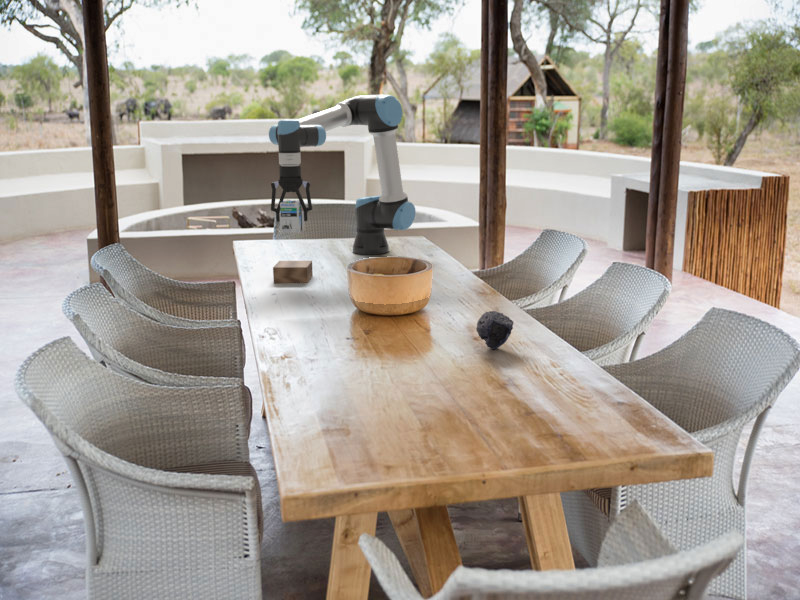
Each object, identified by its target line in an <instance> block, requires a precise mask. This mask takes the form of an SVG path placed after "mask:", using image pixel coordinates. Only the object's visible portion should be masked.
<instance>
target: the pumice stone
mask: <svg viewBox="0 0 800 600" xmlns="http://www.w3.org/2000/svg"><path fill="white" fill-rule="evenodd" d="M513 325H514V321H513V320H512V319H511V318H510V317H509V316H507V315H505V314H504V313H502V312H499V311H495V310H492V311H491V310H490V311H486V312H484V313H483V314H481V316H480V318H479V319H478V320H477V323H476V327H475V329H476V332H477V334H478V337H479V338H480V339H481V340H482V341H484V343H485V345H486V348H489V349H492V350H496V349H499V348H500V347H501V346H503V345H504V344H505V343H506V342H507V340H508V339H509V337H510V336H511V333H512V330H513V329H514V328H513Z"/></svg>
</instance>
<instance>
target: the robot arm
mask: <svg viewBox="0 0 800 600" xmlns="http://www.w3.org/2000/svg"><path fill="white" fill-rule="evenodd" d="M402 118H403V108H402V104H401V102H400V101H399V100H398V99H397V98H396V97H395V96H394V95H390V94H385V93H383V94H379V93H378V94H362V95H361V94H360V95H356V96H353V97H350V98H347V99H344V100H342V101H339V102H337V103H335V104H334V106H333V107H330V108H327V109H324V110H321V111H319V112H315V113H313V114H310V115H307V116H304V117H301V118H299V119H280V120H278V123H277V124H274V125H273V124H272V126H271V127H270V128H269V130H268V139H269V141H270V142H271V143H272V144H274V145H276V146H278V148H277V149H278V164H279V165H280V166H278V168H279V170H278V171H279V173H278V174H279V175H278V176H279V179H278V181H272V182H271V184H270V185H271V189H272V192H271V203H270V210H271V212H274V213H275V216H276V217H275V220H276V222H278V223H279V231H280V232H281V213H280V203H281V202H283V200H285V196H286V193H295V194H296V196H297V200H299V201H300V204H301V206H302V208H303V212H302V231H301V232H305V222H307V221H308V212H310V211H312V210H313V204H312V196H311V191H310V187H311V182H310V181H304V180H303V178H302V167H301V164H302V161H301V159H302V157H301V156H302V155H301V148H309V147H319V146H322V145H324V144H325V142H326V140H327V131H328V132H329V131H330V130H334V129H336V128H339V127H342V128H347V127H349V126H350V127H351V126H367V130H368V133H369V134H371V136H372V137H373V141H374V142H373V144H374V151H375V157H376V163H377V169H378V170H377V171H378V177H379V178H378V179H379V184H380V185H379V186H380V191H381V195H372V196H365V197H364V196H363V197H359V198H357V199H356V201H355V222H356V223H355V224H356V225H355V226H356V227H355V228H356V234H355V238H354V241H353V245H352V253H353V254H357V255H358V254H360V255H381V254H385V253H388V252H389V250H390V249H389V248H390V247H389V243H388V239H387V237H386V234H385V230H386V229H387V230H394V231H405V230H408V229H409V228H411V226H412V225H413V223H414V221H415V218H416V211H417V210H416V207H415V205H414V204H413V202H411V201H409V200H408V198H409V197H408V194H407V193H406V192H404V190H403V189H404V188H403V181H402V174H401V168H400V167H401V166H400V159H399V153H398V152H399V151H398V145H397V144H398V143H397V137H396V132H397V131H398V129H399V124H400V123H401V122H402ZM302 185H303V188H305V193H306V200H307V201H306V202H307V206H306V203H305V201H304V199H303V197H302V194H301V191H300V188H301V186H302ZM278 186H280V187H281V189H282V191H281V195H280V198H279V201H278V203H277V207H276V196H277V189H278Z"/></svg>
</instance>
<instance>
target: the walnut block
mask: <svg viewBox="0 0 800 600" xmlns="http://www.w3.org/2000/svg"><path fill="white" fill-rule="evenodd" d="M272 273H273V274H272V275H273V284H309V282H310V281H309V280H311V279H312V278H311V277H313V275H314V274H313V273H314V272H313V260H279V261H278V262H277V263H276V264H275V265H274V266H273V267H272Z"/></svg>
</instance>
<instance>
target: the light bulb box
mask: <svg viewBox="0 0 800 600" xmlns="http://www.w3.org/2000/svg"><path fill="white" fill-rule="evenodd" d="M302 212H304V211H303V208H302V206H301V204H300V201H299V199H285V198H284V200H283V202H281V203H280V213H281V231H280V232H281V234H300V233H301V232H303V231H302Z"/></svg>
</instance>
